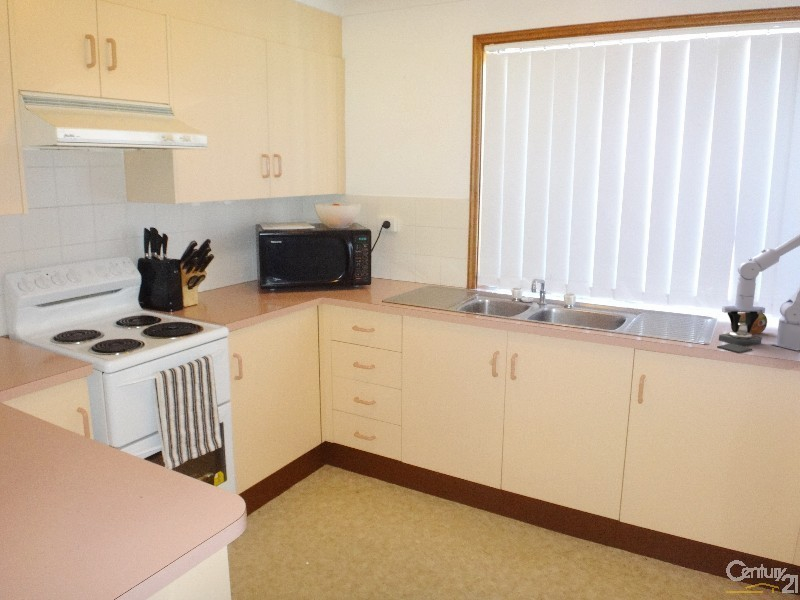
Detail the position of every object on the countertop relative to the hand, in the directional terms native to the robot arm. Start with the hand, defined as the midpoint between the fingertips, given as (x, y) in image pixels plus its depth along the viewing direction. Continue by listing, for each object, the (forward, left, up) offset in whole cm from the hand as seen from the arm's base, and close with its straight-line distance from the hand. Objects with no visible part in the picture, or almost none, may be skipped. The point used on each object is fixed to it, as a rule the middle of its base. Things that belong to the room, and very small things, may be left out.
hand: (740, 331), depth 236 cm
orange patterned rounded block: (+6, -14, -4) cm, 16 cm away
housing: (0, 0, -4) cm, 4 cm away
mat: (-5, +11, -4) cm, 13 cm away
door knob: (0, 0, -3) cm, 3 cm away
